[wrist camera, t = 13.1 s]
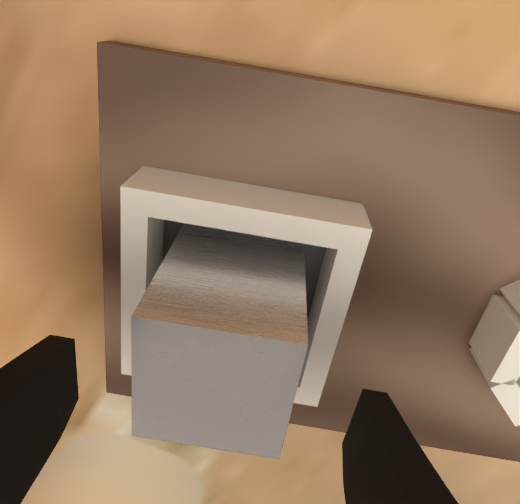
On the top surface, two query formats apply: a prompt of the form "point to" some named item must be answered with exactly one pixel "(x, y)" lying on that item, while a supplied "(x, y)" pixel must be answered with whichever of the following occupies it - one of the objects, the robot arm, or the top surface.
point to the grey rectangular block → (220, 342)
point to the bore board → (330, 229)
